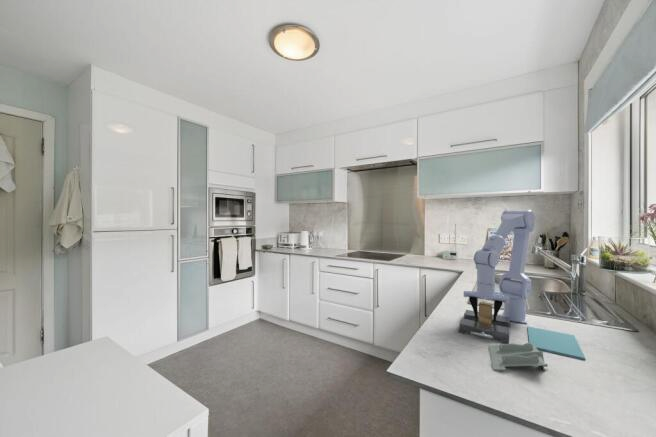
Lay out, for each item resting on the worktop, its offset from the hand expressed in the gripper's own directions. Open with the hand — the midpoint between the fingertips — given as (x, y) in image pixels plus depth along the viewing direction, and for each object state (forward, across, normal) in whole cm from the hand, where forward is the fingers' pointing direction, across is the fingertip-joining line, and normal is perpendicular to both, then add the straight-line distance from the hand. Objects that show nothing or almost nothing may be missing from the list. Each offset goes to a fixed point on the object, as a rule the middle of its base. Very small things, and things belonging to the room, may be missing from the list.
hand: (485, 318), depth 101 cm
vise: (+3, 0, 0) cm, 3 cm away
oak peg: (+3, 0, 0) cm, 3 cm away
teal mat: (+3, +20, 0) cm, 20 cm away
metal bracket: (+4, +9, -22) cm, 24 cm away
